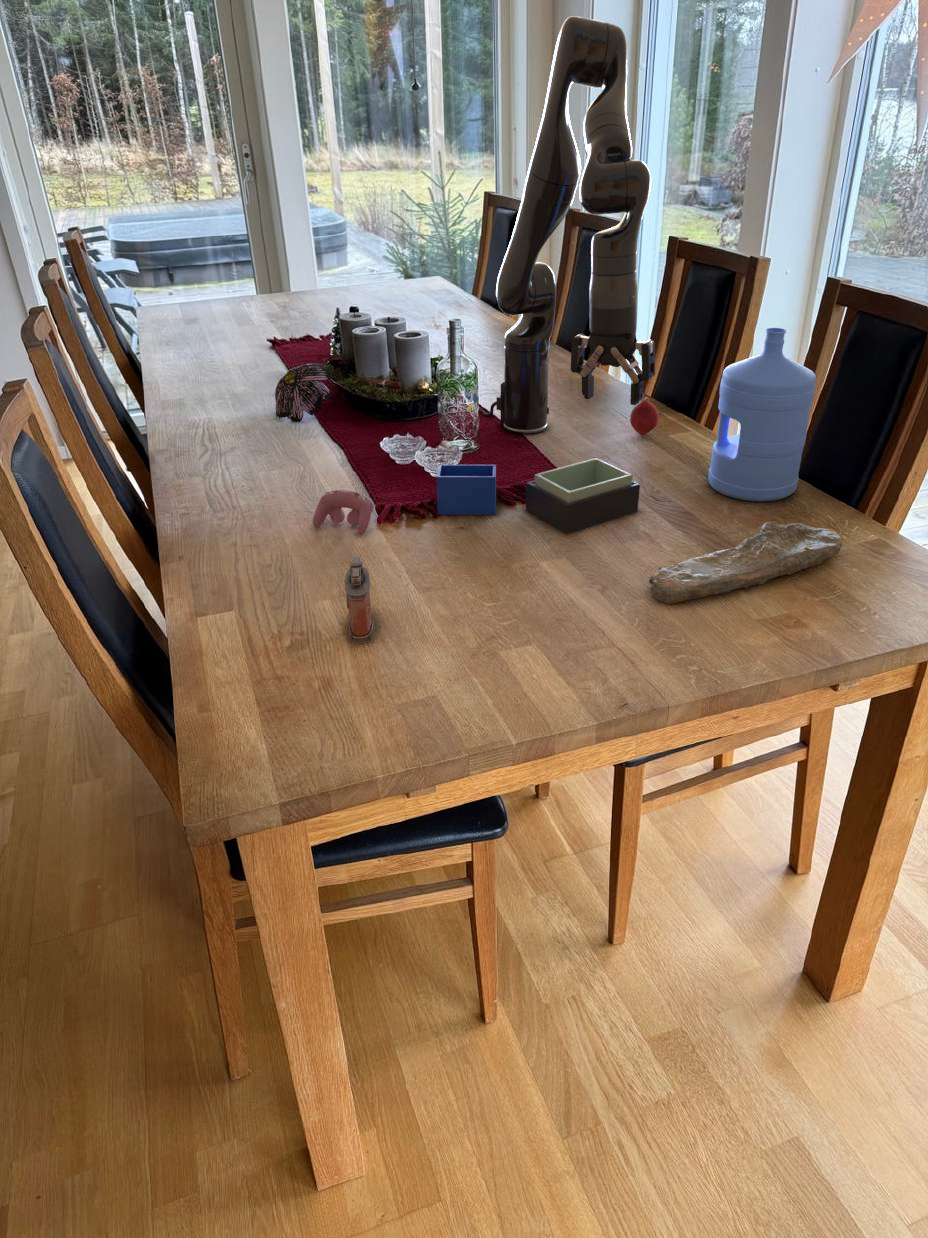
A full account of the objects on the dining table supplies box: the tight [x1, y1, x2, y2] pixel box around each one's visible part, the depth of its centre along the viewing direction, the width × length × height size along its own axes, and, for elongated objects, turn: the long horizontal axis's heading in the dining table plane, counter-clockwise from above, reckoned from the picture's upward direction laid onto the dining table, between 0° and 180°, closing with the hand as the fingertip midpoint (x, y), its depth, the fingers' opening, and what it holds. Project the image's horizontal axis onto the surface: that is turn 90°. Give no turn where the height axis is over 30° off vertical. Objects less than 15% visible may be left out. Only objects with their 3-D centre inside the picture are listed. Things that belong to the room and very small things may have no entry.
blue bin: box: [436, 464, 497, 516], centre depth 156 cm, size 10×6×7 cm, turn 87°
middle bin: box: [533, 457, 633, 503], centre depth 154 cm, size 14×10×6 cm
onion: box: [629, 396, 659, 436], centre depth 186 cm, size 6×6×8 cm
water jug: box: [707, 327, 817, 502], centre depth 157 cm, size 16×16×28 cm
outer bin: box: [525, 480, 641, 535], centre depth 155 cm, size 16×12×5 cm
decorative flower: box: [274, 362, 332, 423], centre depth 202 cm, size 14×12×15 cm
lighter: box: [344, 556, 375, 644], centre depth 122 cm, size 8×3×10 cm, turn 5°
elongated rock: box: [648, 520, 843, 605], centre depth 135 cm, size 35×5×10 cm
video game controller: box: [312, 489, 375, 535], centre depth 152 cm, size 10×5×7 cm, turn 71°
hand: (611, 400), depth 151 cm, fingers open, 8 cm apart
